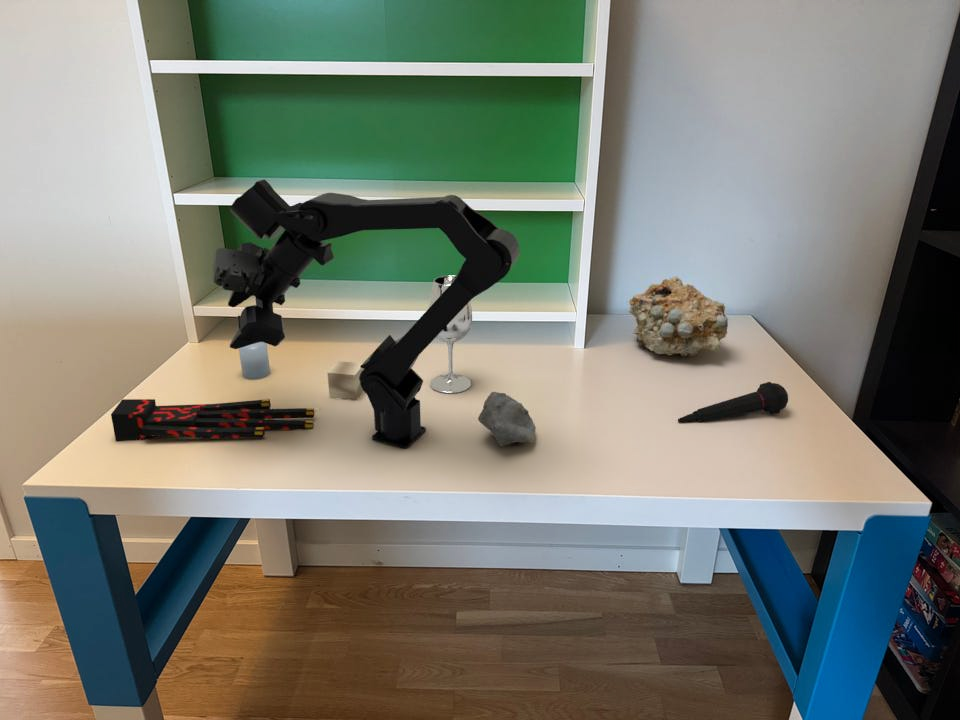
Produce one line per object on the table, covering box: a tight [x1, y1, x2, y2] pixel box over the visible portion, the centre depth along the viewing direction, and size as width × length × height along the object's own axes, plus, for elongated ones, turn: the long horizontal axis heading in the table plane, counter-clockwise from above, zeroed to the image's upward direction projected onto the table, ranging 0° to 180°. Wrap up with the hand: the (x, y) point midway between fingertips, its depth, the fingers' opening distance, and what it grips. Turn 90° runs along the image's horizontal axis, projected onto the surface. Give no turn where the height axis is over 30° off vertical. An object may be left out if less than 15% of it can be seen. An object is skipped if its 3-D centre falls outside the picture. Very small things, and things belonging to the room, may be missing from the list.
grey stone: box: [477, 391, 536, 447], centre depth 107 cm, size 11×9×8 cm
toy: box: [110, 398, 316, 442], centre depth 110 cm, size 8×5×30 cm
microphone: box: [677, 381, 789, 423], centre depth 116 cm, size 6×6×20 cm
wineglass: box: [428, 275, 473, 394], centre depth 123 cm, size 8×8×20 cm
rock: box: [628, 275, 729, 357], centre depth 140 cm, size 19×19×15 cm
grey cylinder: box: [238, 342, 271, 381], centre depth 129 cm, size 5×5×6 cm
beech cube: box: [326, 360, 364, 401], centre depth 122 cm, size 5×5×5 cm
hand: (231, 326), depth 109 cm, fingers open, 9 cm apart
